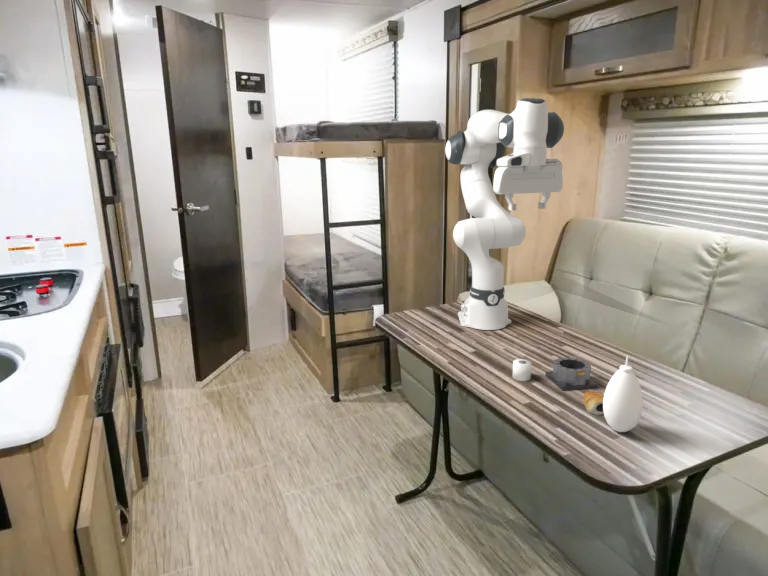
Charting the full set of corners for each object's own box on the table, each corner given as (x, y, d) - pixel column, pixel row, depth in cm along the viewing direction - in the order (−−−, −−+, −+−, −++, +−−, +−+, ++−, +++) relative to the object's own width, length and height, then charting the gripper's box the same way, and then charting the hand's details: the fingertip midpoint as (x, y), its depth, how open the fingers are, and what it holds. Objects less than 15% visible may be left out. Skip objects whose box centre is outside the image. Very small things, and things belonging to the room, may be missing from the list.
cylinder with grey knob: (509, 374, 147) (510, 359, 146) (526, 373, 148) (527, 357, 146) (516, 381, 142) (517, 366, 141) (533, 380, 143) (534, 364, 142)
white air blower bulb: (628, 420, 120) (636, 348, 116) (645, 438, 113) (655, 361, 108) (595, 422, 120) (601, 349, 116) (610, 440, 113) (618, 362, 108)
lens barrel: (545, 375, 146) (546, 358, 145) (578, 372, 147) (579, 355, 146) (562, 390, 136) (563, 373, 135) (597, 387, 138) (599, 370, 136)
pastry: (576, 398, 133) (577, 384, 132) (603, 398, 132) (605, 384, 131) (588, 415, 124) (590, 401, 123) (617, 416, 123) (619, 401, 122)
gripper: (555, 158, 150) (553, 206, 153) (491, 160, 145) (489, 210, 148) (569, 158, 144) (565, 208, 147) (502, 160, 139) (500, 212, 142)
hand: (527, 209), depth 148 cm, fingers open, 8 cm apart
